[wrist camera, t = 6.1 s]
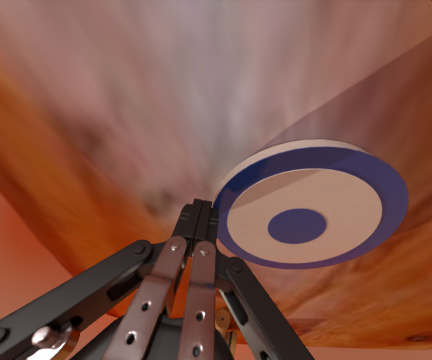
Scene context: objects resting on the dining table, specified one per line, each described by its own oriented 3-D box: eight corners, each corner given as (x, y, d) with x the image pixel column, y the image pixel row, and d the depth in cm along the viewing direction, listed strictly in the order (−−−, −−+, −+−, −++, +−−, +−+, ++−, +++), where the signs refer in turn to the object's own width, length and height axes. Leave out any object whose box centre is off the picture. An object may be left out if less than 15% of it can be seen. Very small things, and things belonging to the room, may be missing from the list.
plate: (453, 158, 9) (482, 170, 8) (328, 267, 18) (334, 280, 16) (224, 123, 10) (222, 130, 9) (207, 244, 18) (205, 256, 17)
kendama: (201, 297, 32) (203, 334, 40) (200, 339, 26) (202, 372, 35) (238, 295, 32) (232, 332, 41) (245, 336, 27) (236, 370, 35)
